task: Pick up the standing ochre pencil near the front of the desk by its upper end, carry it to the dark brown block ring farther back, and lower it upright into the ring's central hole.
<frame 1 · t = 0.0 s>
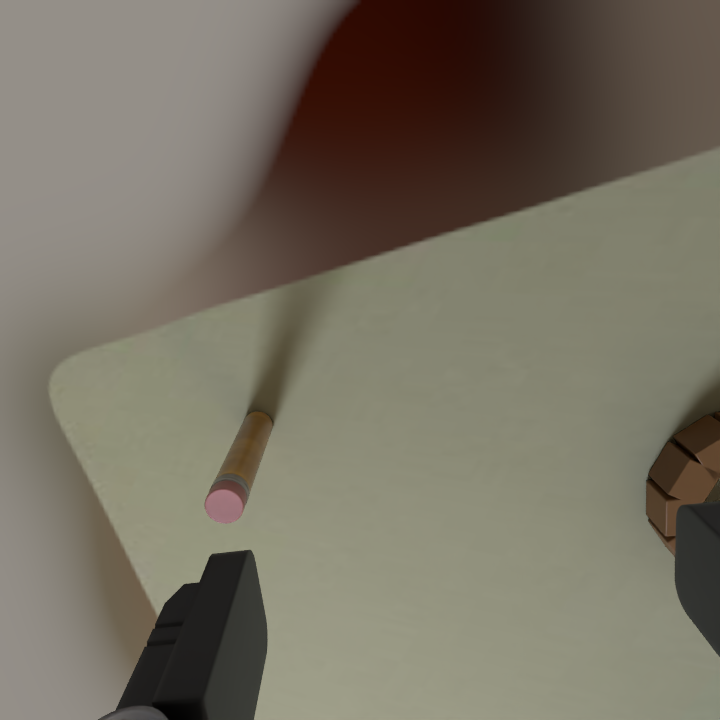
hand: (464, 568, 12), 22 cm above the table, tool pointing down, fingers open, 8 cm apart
pencil: (258, 424, 34), on the table
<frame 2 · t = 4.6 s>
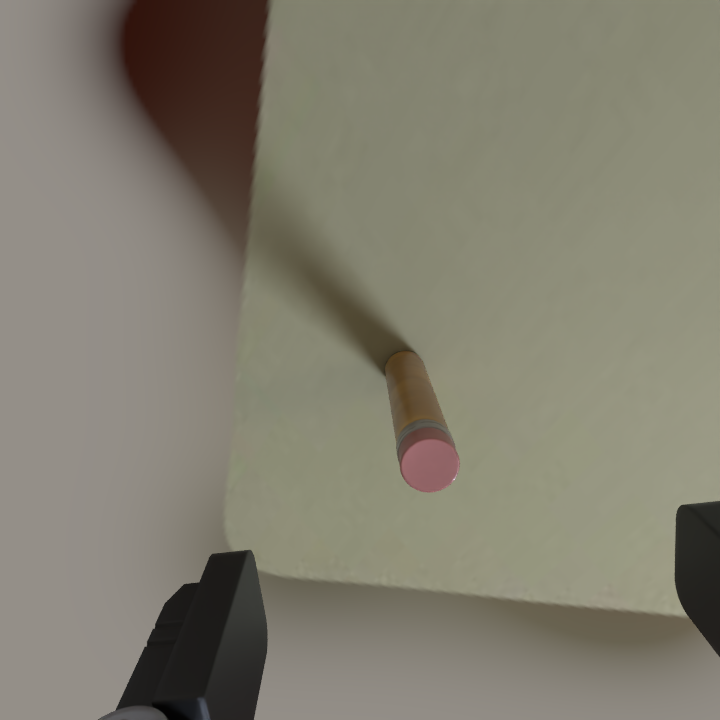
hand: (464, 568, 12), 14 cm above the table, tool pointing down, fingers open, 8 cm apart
pencil: (404, 369, 25), on the table
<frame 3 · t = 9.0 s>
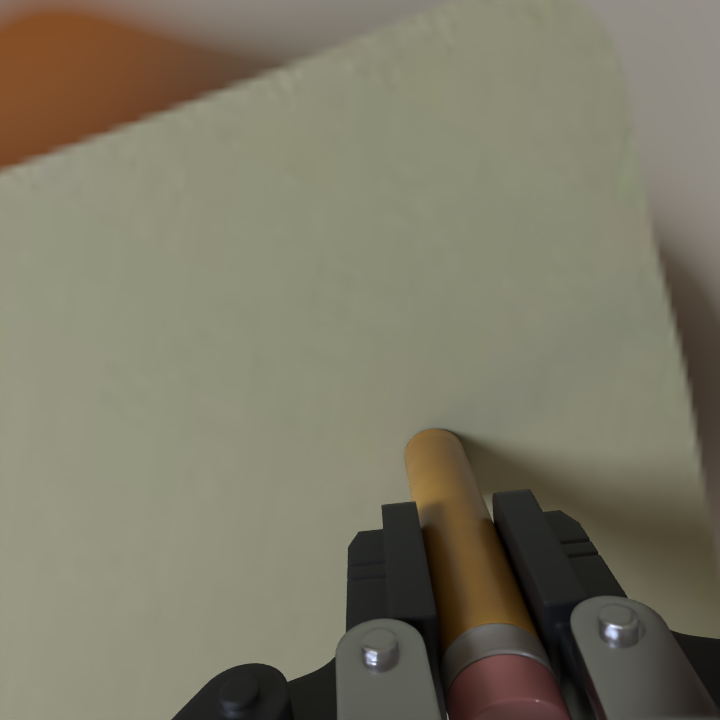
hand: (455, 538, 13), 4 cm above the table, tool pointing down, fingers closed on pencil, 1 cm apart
pencil: (434, 455, 17), on the table, touching gripper
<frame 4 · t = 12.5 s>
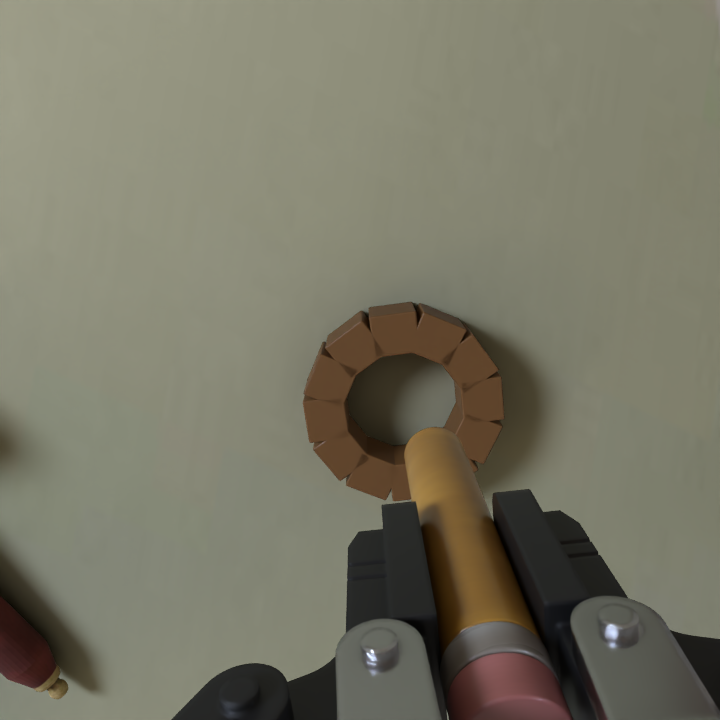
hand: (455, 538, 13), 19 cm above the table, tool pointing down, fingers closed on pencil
pencil: (433, 454, 17), point 15 cm above the table, touching gripper
brown block ring: (401, 394, 32), on the table
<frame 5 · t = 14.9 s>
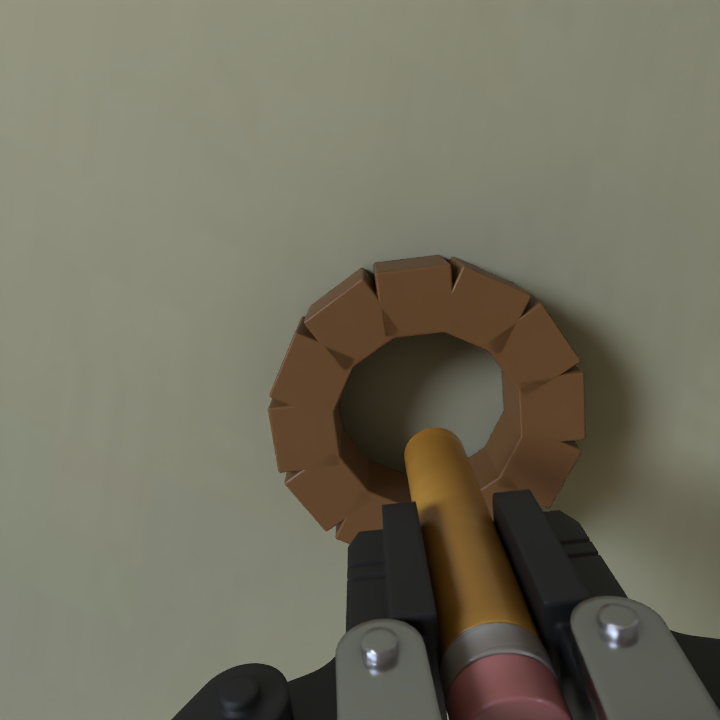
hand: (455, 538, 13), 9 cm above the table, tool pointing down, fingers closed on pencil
pencil: (434, 454, 17), point 5 cm above the table, touching gripper
brown block ring: (420, 398, 21), on the table
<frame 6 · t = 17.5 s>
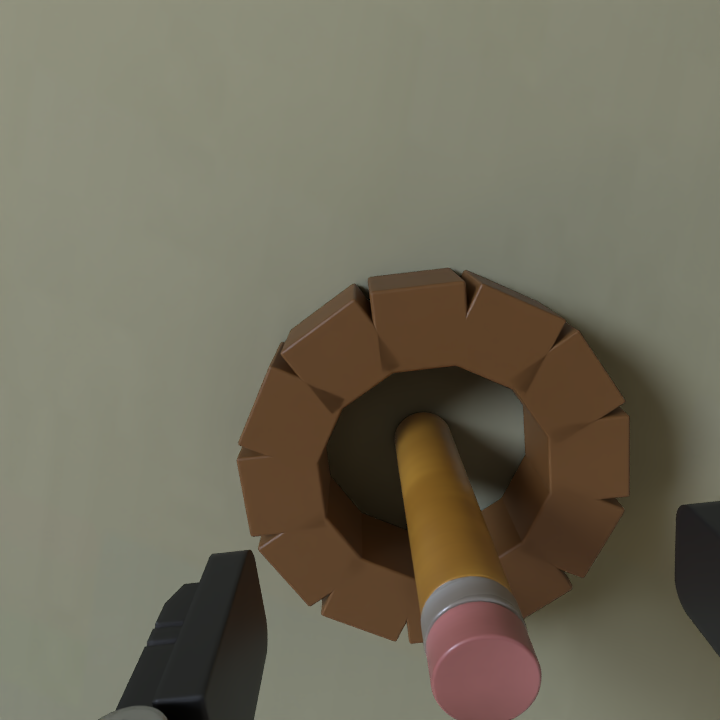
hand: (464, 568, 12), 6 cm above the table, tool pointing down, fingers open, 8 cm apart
pencil: (422, 437, 18), resting in brown block ring
brown block ring: (425, 439, 18), on the table
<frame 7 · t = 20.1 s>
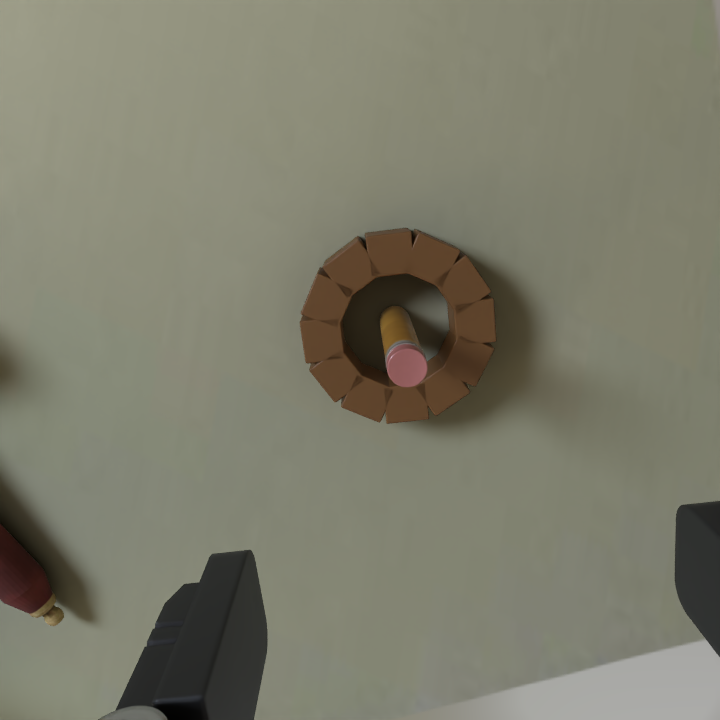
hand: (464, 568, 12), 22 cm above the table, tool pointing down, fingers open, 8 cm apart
pencil: (394, 320, 33), resting in brown block ring
brown block ring: (395, 321, 33), on the table
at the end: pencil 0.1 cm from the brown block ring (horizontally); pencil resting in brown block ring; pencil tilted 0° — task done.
